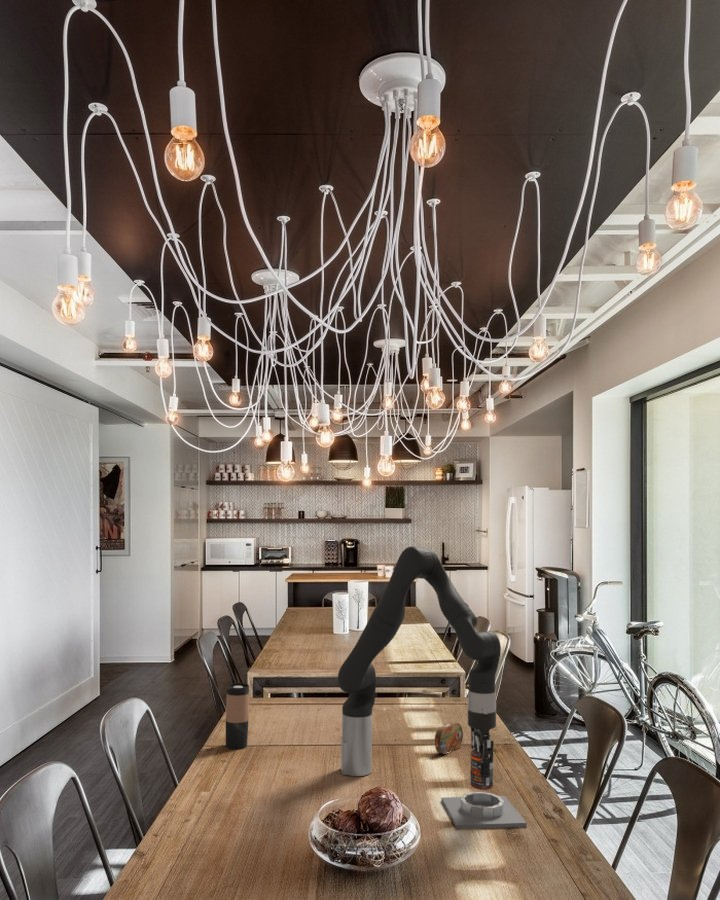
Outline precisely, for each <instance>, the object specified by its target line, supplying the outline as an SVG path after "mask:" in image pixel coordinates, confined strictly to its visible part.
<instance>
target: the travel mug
mask: <svg viewBox="0 0 720 900" xmlns="http://www.w3.org/2000/svg"><path fill="white" fill-rule="evenodd" d="M225 700H226V701H225V702H226V703H225V704H226V705H225V749H229V750H243V749H245V748H247V746H248V738H249V737H248V736H249V716H250V715H249V713H250V712H249V711H250V685H249V684H247V683H243V682H241V683H240V682H236V683H230V684H228V685H226V699H225Z"/></svg>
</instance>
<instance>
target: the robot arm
mask: <svg viewBox="0 0 720 900" xmlns="http://www.w3.org/2000/svg"><path fill="white" fill-rule="evenodd" d="M416 579H423V580H425V581H426V582H427V583H428V584H429V585H430V586H431V587H432V589H433V590H434V592H435V594H436V597H437V600H438V605H439V608H440V611H441V612H442V614H443V616H444V617H445V620H447V622H448V623H449V625H450V626H451V627H452V629H453V630H454V632H455V634H456V637H457V639H458V642H459V644H460V648H461V650H462V651H463V653H464V654H465V656H467V657H468V659H471V660H472V661H477V664H476V665H475V666H474V667H472V668H471V669H470V670H469V672H468V694H467V725H468V726H469V728H470V737H471V738H470V741H471V743H470V744H471V750H474V749H475V747H474V744H475V742H477V749H478V753H479V754H480V759H481V760H480V761H481V777H482V778H489V777H490V763H493V764H494V743H495V741H494V740H493V739H492V736H491V734H490V730H493V729H495V728H496V727H497V697H496V673H497V670H498V665H499V663H500V658H501V650H502V647H501V645H502V644H501V642H500V638H499V637H498V635H497V634H496V633H495V632H493V631H479V632H477V630H476V626H477V625H478V618H477V616H476V615H475V613H474V612H473V610H472V609H471V608H470V607H469V606H468V604H467V603H466V602H465V601H464V599H463V598H462V597H461V595H460V593H459V592H458V591H457V589H456V587H455V586H454V584H453V582H452V580H451V579H450V577H449V575H448V573H447V571H446V570H445V567H444V565H443V563H442V562H441V559H440V558H439V556H438V555H437V553H435V550H432V548H429V547H423V546H422V547H421V546H408V547H406V548H404V550H402V552H401V553H400V555H399V557H398V559H397V562H396V563H395V566H394V568H393V571H392V573H391V576H390V578H389V580H388V583H387V585H386V587H385V588H384V591H383V593H382V594H381V596H380V599H379V600H378V603H377V604H376V606H375V608H374V609H373V611H372V613H371V615H370V617H369V619H368V621H367V623H366V625H365V627H364V628H363V630H362V632H361V634H360V636H359V637H358V640H357V641H356V643H355V645H354V647H353V648H352V651H351V652H350V653H349V655H348V656H347V658H346V659H345V660H344V662H342V664H341V666H340V668H339V670H338V673H337V683H338V686H339V688H340V690H341V691H342V692H344V693H347V694H349V695H348V697H347V699H346V700H345V701H344V703H343V704H342V711H341V712H342V713H341V714H342V716H341V717H342V718H341V737H340V739H341V740H340V769H341V775H343V776H345V775H346V776H351V777H362V776H368V775H369V774H371V773H372V766H373V765H372V764H373V763H372V757H373V756H372V751H373V749H372V746H373V738H372V737H373V708H374V706H375V703H376V702H375V701H376V688H377V674H376V670H375V667H374V665H373V664H372V662H374V660H375V658H376V657H377V656H378V655H379V654H380V653H381V652H382V651H383V650H385V648H386V647H387V646H388V645H389V644H390V642H391V641H392V640H393V639H394V638H395V636H396V634H397V632H398V631H399V629H400V627H401V626H402V624H403V622H404V620H405V615H406V596H407V594H408V591H409V590H410V588H411V586H412V584H413V582H414V581H415V580H416ZM481 749H483V750H481ZM486 755H487V757H488V758H486Z"/></svg>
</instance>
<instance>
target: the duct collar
mask: <svg viewBox="0 0 720 900" xmlns="http://www.w3.org/2000/svg"><path fill="white" fill-rule="evenodd" d="M499 796H500V795H497V794H494V793H492V792H491V793H490V792H486V791H485V792H484V791H472V792H471V791H470V792H468V793H467V792H466V793H464V794H463V795H462V796H460V797H461V810H462V811H463V813H465V814H467V815H470V816H472V817H478V818H495V817H498V816H501V815H502V814H503V812H504V801H503V799H502V798H501V797H499ZM472 803H486V804H491V805H493V806H490V807H481V806H476V805H472Z"/></svg>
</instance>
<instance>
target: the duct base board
mask: <svg viewBox="0 0 720 900" xmlns="http://www.w3.org/2000/svg"><path fill="white" fill-rule="evenodd" d="M498 796H499V797H501V798H502V799H503V801H504V812H503V814H502V815H501V816H498V817H495V818H478V817H472V816H470V815H467V814H465V813H463V811H462V810H461V797H462V796H450V797H441V800H440V801H441V803H442V804H443V807H444V808H445V810H446V812H447V814H448V815H449V817H450V819H451V821H452V823H453V824H454V826H455V828H456V830H470V829H471V830H473V829H475V830H477V829H504V828H527V826H528V825H527V824H528V823H527V822H526V820H525V819H524V818H523V817H522V815H521V814H520V812H519V811H518V810H517V809H516V807H514V805H513V804H512V802H510V800H509V798H507V796H506V795H498ZM472 805H476V806H481V807H490V806H493V805H491V804H486V803H472Z"/></svg>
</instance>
